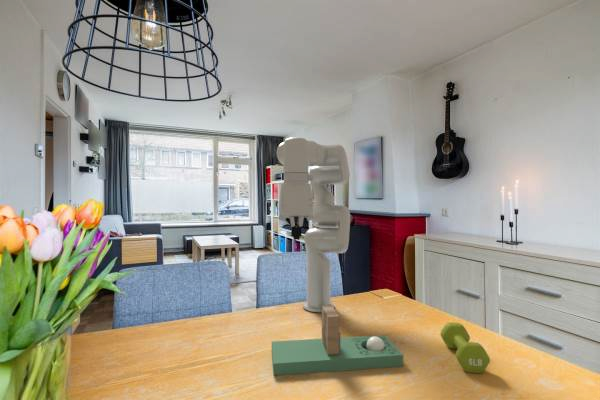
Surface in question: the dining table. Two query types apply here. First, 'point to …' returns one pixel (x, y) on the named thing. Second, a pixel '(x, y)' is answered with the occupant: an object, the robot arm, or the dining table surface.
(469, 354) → the dumbbell
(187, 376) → the dining table surface
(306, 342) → the putting mat
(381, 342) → the ball
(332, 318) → the upright wooden plank
